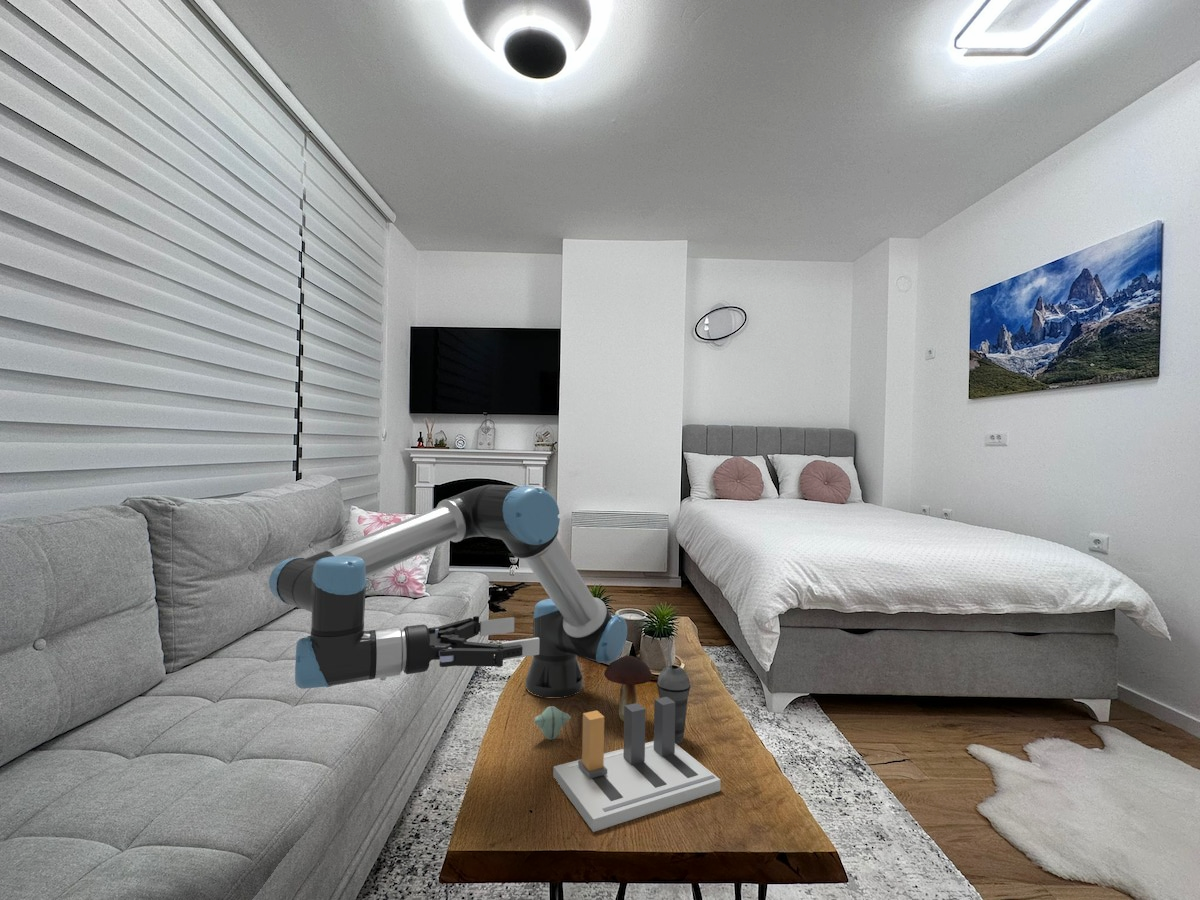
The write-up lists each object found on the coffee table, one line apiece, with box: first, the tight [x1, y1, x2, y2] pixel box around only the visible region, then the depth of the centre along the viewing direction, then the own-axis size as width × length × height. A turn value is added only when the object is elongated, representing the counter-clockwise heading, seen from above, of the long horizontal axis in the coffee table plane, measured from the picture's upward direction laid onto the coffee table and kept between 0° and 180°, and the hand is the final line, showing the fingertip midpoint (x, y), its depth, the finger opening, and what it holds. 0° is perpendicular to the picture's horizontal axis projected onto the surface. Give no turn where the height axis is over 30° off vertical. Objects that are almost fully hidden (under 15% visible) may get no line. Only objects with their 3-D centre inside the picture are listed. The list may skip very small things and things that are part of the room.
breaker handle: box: [578, 710, 607, 779], centre depth 101 cm, size 5×4×10 cm
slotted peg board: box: [552, 697, 722, 833], centre depth 101 cm, size 17×26×12 cm, turn 117°
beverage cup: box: [656, 644, 691, 745], centre depth 118 cm, size 7×7×20 cm
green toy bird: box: [534, 705, 572, 740], centre depth 117 cm, size 8×4×7 cm, turn 106°
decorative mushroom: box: [604, 655, 653, 722], centre depth 126 cm, size 11×11×15 cm
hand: (525, 634), depth 99 cm, fingers open, 13 cm apart
